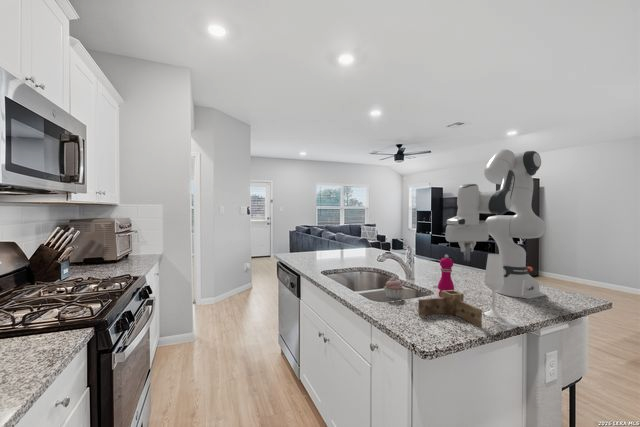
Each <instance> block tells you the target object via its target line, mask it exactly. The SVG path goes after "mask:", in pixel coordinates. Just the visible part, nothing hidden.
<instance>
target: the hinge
mask: <svg viewBox="0 0 640 427" xmlns="http://www.w3.org/2000/svg"><path fill="white" fill-rule="evenodd" d="M464 295H465V294H464V293H462V292H459V291H457V290H455V289H454V290H444V291H441V297H433V298H422V299H421V298H419V299H418V303H417V304H418V308H417V312H418V315H419V316H426V315H427V316H428V315H438V314H447V315H449V316H454V315H455V316H457V317H460V318H462V319H464V320H466V321H467V322H469V323H471V324H474V325H475V326H477V327H482V326H483V325H482V324H483V322H482V320H483V309H482V308H479V307H477V306H474V305H472V304H469V303H467V302H465V301H464ZM418 315H417V316H418Z"/></svg>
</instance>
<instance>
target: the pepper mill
mask: <svg viewBox="0 0 640 427" xmlns="http://www.w3.org/2000/svg"><path fill="white" fill-rule="evenodd" d="M439 266H440V271H441V276H440V280H439V281H438V283H437V289H438V290H439V291H438V296H439V298H441V291H444V290H455V285H454V282H453V280H452V272H453V267H454V261H453V260H452V258H449V255H448V254H445V255H444V257H442V258H441V259H440V260H439Z"/></svg>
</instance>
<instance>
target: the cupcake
mask: <svg viewBox="0 0 640 427" xmlns="http://www.w3.org/2000/svg"><path fill="white" fill-rule="evenodd" d="M383 290H384V291H385V296H386V299H388V300H397V301H398V300H400V299H401V297H402V295H403V294H402V293H403V291H404V290H405V288H404V287H403V284H402V283H401V281H400V280H399V279H398V278H396V277H395V276H393V277H390V279H389V280H387V281H386V282H385V285H384V286H383Z"/></svg>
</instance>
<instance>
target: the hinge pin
mask: <svg viewBox="0 0 640 427" xmlns="http://www.w3.org/2000/svg"><path fill="white" fill-rule="evenodd" d="M463 245H464V247H465V248H466V252H463V262H470V261H471V252H470V245H471V242H465V244H463Z"/></svg>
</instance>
